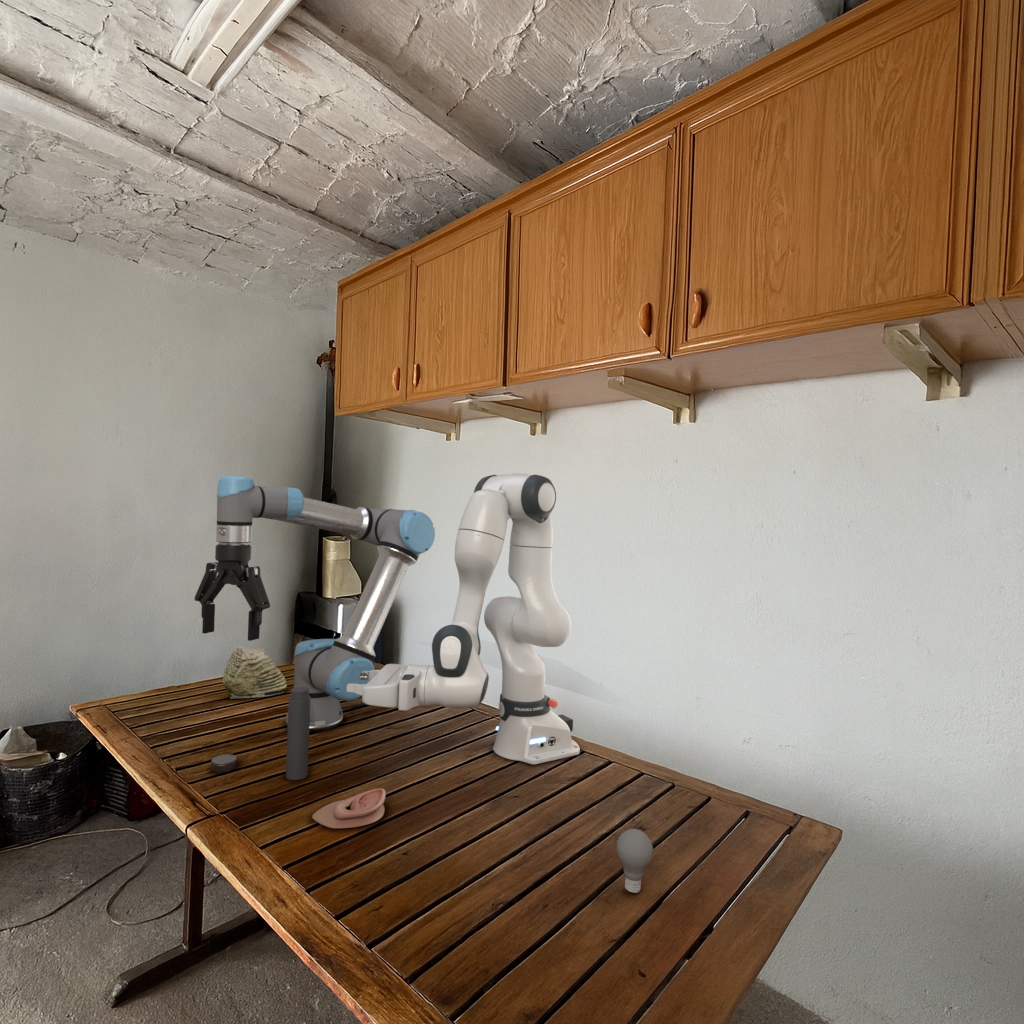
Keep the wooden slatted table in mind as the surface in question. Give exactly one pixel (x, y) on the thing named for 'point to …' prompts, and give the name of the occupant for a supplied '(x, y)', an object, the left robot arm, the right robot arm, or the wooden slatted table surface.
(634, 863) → the light bulb
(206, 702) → the wooden slatted table surface
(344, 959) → the wooden slatted table surface
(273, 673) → the fossil
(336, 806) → the anatomical model
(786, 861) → the wooden slatted table surface
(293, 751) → the dark grey cylinder
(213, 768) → the lid
